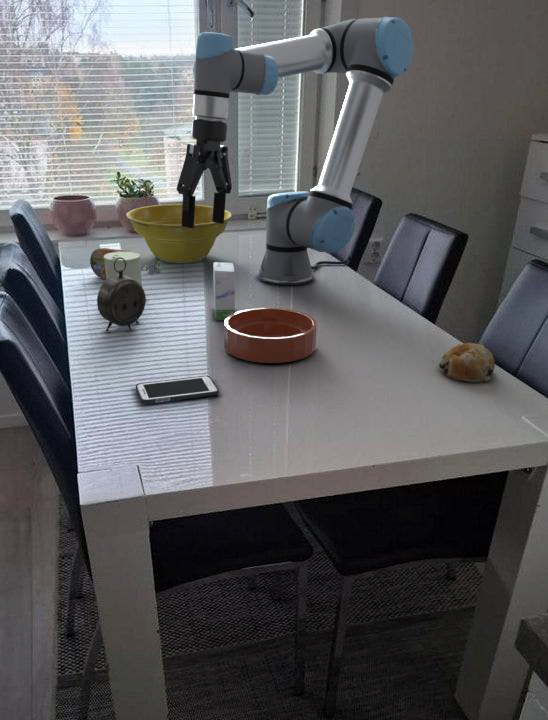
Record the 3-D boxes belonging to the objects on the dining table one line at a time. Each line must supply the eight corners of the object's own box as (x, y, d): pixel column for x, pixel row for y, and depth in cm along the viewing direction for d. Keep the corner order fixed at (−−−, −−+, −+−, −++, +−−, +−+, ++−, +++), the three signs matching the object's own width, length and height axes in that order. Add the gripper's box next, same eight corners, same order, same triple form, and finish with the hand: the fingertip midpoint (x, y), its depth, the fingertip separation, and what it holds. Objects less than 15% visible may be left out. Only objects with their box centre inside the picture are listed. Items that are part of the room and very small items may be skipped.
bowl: (259, 327, 156) (259, 302, 153) (331, 346, 146) (333, 319, 143) (206, 352, 143) (205, 325, 139) (281, 374, 133) (282, 345, 129)
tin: (91, 277, 191) (87, 247, 186) (97, 274, 193) (93, 244, 189) (136, 283, 186) (134, 252, 181) (142, 280, 188) (140, 249, 184)
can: (100, 303, 171) (95, 255, 164) (122, 293, 177) (118, 247, 171) (130, 308, 167) (125, 260, 161) (151, 298, 174) (147, 251, 167)
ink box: (235, 320, 160) (235, 270, 154) (215, 320, 160) (214, 271, 153) (233, 309, 167) (233, 261, 161) (213, 309, 167) (212, 261, 161)
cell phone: (220, 395, 124) (220, 391, 123) (141, 405, 120) (141, 400, 119) (209, 379, 130) (209, 374, 129) (135, 388, 126) (134, 383, 126)
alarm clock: (137, 320, 159) (131, 251, 151) (151, 326, 156) (146, 255, 147) (99, 331, 153) (90, 259, 144) (112, 337, 150) (104, 264, 141)
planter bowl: (251, 254, 214) (251, 210, 207) (191, 277, 191) (190, 228, 184) (172, 241, 229) (170, 200, 221) (108, 261, 206) (103, 215, 198)
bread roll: (470, 402, 130) (496, 372, 125) (428, 371, 132) (451, 340, 127) (484, 385, 138) (509, 355, 132) (444, 355, 139) (467, 325, 134)
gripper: (223, 121, 153) (216, 218, 163) (162, 114, 133) (158, 226, 143) (251, 124, 150) (243, 223, 160) (194, 118, 130) (188, 231, 140)
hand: (203, 225), depth 152 cm, fingers open, 13 cm apart
